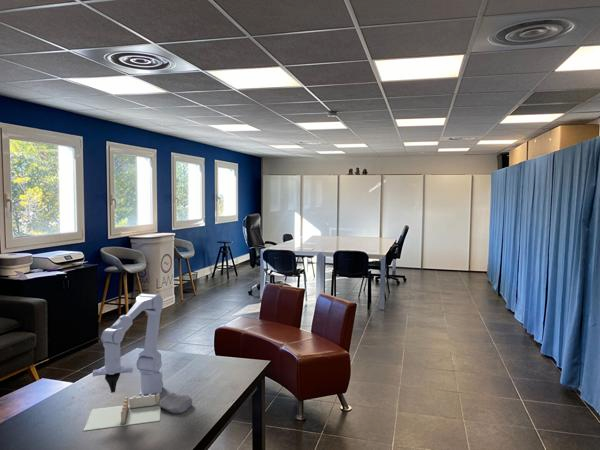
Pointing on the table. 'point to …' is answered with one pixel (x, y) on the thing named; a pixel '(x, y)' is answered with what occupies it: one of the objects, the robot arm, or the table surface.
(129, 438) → the table surface
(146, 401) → the fence fixed
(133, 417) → the card
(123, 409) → the fence panel
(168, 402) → the stone block
